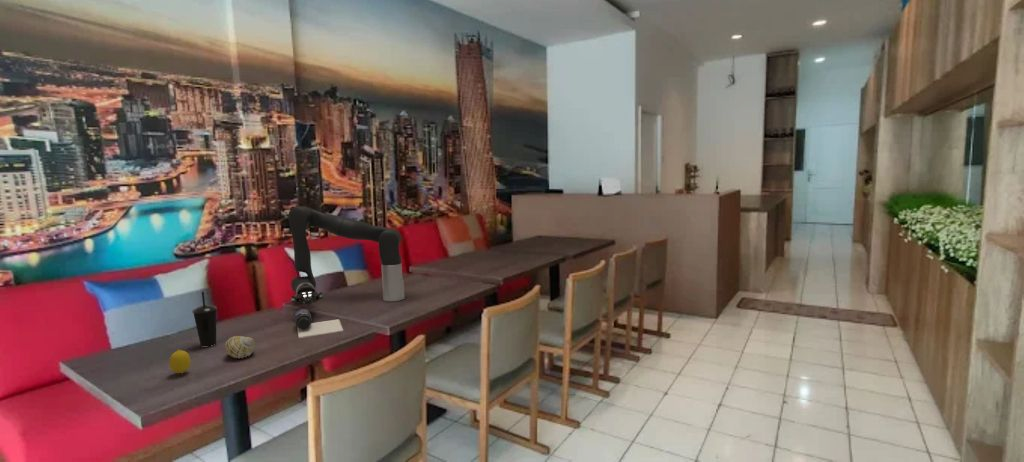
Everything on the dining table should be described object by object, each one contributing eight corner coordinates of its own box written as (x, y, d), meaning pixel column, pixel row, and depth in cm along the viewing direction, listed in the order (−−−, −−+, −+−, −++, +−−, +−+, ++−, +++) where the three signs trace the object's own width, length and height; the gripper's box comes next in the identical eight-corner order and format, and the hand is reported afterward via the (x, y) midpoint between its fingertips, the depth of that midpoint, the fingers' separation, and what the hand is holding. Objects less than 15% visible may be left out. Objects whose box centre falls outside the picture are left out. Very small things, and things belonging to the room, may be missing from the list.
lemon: (177, 370, 162) (174, 347, 161) (195, 369, 163) (192, 346, 161) (167, 378, 157) (164, 353, 155) (186, 377, 157) (182, 352, 156)
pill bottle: (307, 306, 205) (309, 313, 195) (313, 319, 206) (315, 327, 196) (291, 312, 203) (292, 320, 193) (297, 325, 204) (298, 334, 194)
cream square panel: (338, 320, 209) (338, 319, 209) (343, 331, 196) (343, 330, 196) (297, 326, 202) (296, 325, 202) (298, 338, 189) (298, 337, 189)
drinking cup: (225, 342, 186) (219, 289, 183) (207, 350, 179) (201, 295, 176) (210, 340, 189) (204, 288, 186) (191, 347, 182) (184, 294, 179)
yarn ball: (235, 346, 180) (245, 323, 178) (257, 360, 179) (267, 336, 177) (213, 356, 170) (223, 331, 168) (236, 371, 169) (247, 345, 167)
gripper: (288, 285, 217) (290, 295, 201) (321, 282, 222) (325, 291, 207) (290, 302, 218) (291, 313, 202) (322, 298, 223) (326, 308, 208)
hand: (308, 302), depth 204 cm, fingers closed
